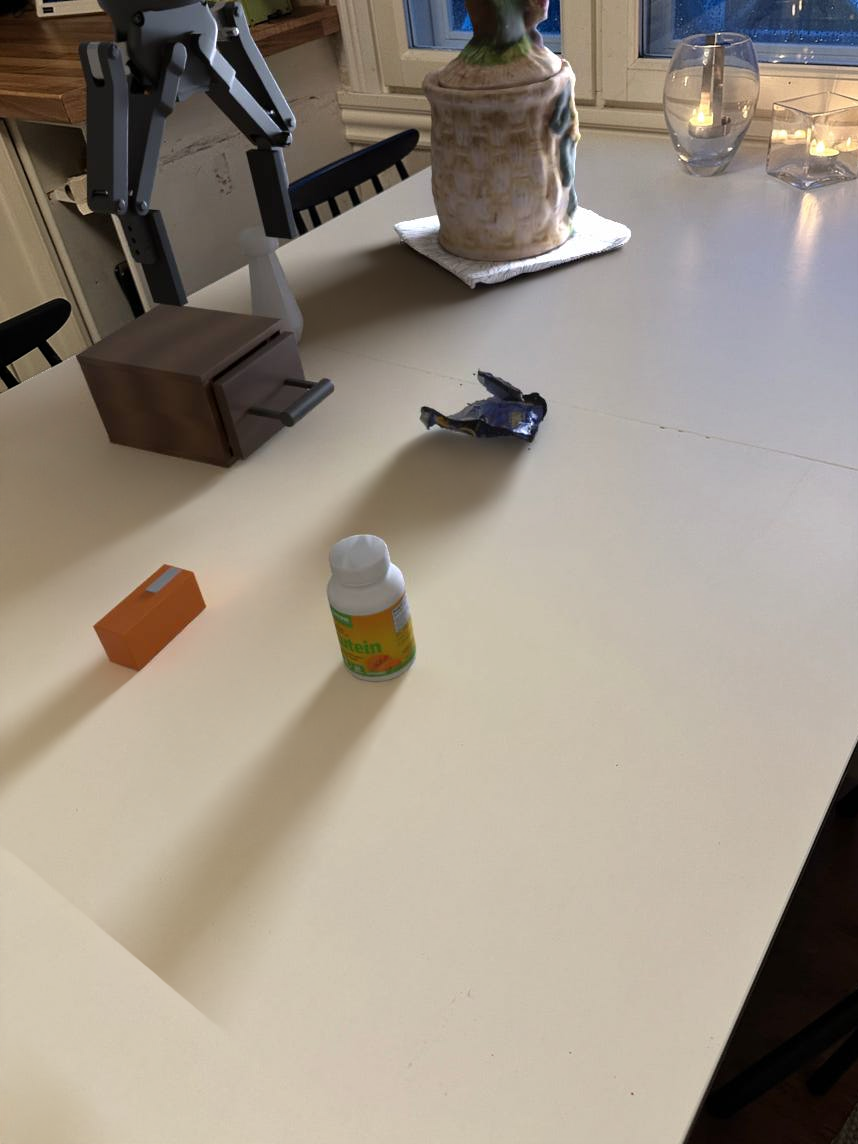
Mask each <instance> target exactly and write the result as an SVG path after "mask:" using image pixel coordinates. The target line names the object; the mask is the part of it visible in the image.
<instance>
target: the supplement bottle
mask: <svg viewBox="0 0 858 1144" xmlns="http://www.w3.org/2000/svg"><path fill="white" fill-rule="evenodd" d="M388 548H389V547H388V546H387V544H386V542H385V541H384V540H383V539H381V538H380V537H378V536H376V535H372V534H356V535H351V536H348V537H346V538H343V539H341V540H339V541H337V542H336V543H335V544H334V545H333V546H332V547H331V549H330V550H329V552H328V562H329V568H330V572H331V574H332V575H331V576H330V577H329V579H328V582H327V585H326V597H327V601H328V605H329V608H330V612H331V615H332V621H333V624H334V628H335V631H336V636H337V639H338V644H339V647H340V651H341V656H342V659H343V663H344V665H345V668H346V670H347V671H348V672H349V673H350V674H351V675H352V676H354V677H356V678H358V679H359V680H361V681H366V682H383V681H387V680H391V679H395V678H397V677H399V676H401V675H403V674H404V673H405V672H406V671H408V669H410V667H411V666H412V665H413V664H414V662H415V660H416V657H417V651H418V650H417V642H416V637H415V636H416V635H415V631H414V625H413V619H412V615H411V610H410V604H409V599H408V593H407V588H406V581H405V579H404V578H405V577H404V575H403V573H402V572H401V570H400V568H398V566H397V565H395V564H394V563H392V562H391V556H390V553H389V549H388Z"/></svg>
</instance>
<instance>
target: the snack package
mask: <svg viewBox="0 0 858 1144" xmlns="http://www.w3.org/2000/svg"><path fill="white" fill-rule="evenodd" d="M472 375H473V376H476V380H478V382H479V384H480V385H482V386H483V388H485V390H486V392H488V393H489V394H491V395H493V396H489V397H487V398H485V399H480V400H475V401H473V402H472V403H470V402H466V406H464V407H463V408H462V409H461V410H460V411H458V412H456V413H453V414H449V415H444V414H443V413H441V412H440V411H437V410H436V409H435V408H432V407H429V406H425V405H423V406H420V409H419V410H420V412H419V413H420V416H419V421H420V422H421V423H422V424H423V426H424V427H425V428H426V430H427V431H429V430H431V427H434V425H437V426H438V427H440V429H446V430H449V431H450V432H453V431H454V432H457V433H461V434H464V435H468V436H471V437H473V438H476V439H477V438H478V439H491V438H492V439H494V438H495V439H496V438H501V437H502V438H504V437H510V436H511V437H514V438H517V439H519V440H523V441H526V442H527V443H531V444H532V442H533V441H534V439H535V437H536V435H537V432H538V431H539V427H540V424H541V422H544V419H545V417H546V415H547V412H548V403H547V401H546V399H545V398H544V397H542V396H541V395H540V393H539V392H537V391H535V392H531V393H529V394H527V393H526V394H524V392H523V391H522V390H521V389H520V388H519V387H516V386H514V385H512V384H511V383H510V382H509V381H506V380H504V379H503V378H501V377H500V376H499V377H498V376H495V375H493V373H491V372H489V371H483V370H480V369H478V370H477V373H474V372H473V373H472ZM462 385H463V384H462V383H460V384H459V386H462ZM529 450H531V447H528V451H529Z"/></svg>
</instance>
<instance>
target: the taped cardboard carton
mask: <svg viewBox="0 0 858 1144" xmlns="http://www.w3.org/2000/svg"><path fill="white" fill-rule="evenodd" d="M206 608H207V605H206V602H205V599H204V597H203V594H202V592H201V589H200V585H199V583H198V581H197V578H196V575H195V572H194V571H192V570H188V569H185V568H181V567H177V566H174V565H171V564H167V563H163V564H162V565H161V566H160V567H159V568H158V569H157V570H155V571H154V572H153V573H152V574H151V575H150V576H149V577H147V578H146V579H145V580H144V581H143V582H142V583H141V584H140V585H138V586H137V587H136V588H135V589H134V590H133V591H132V592H131V593H129V594H128V595H126V596H125V597H124V599H122V600H121V601H120V602H119V603H118V604H116V606H114V607H113V608H112V609H111V610H110V611H109V612H107V613H106V614H105V615H104V616H103V617H102V618H101V619H99V620H98V621H96V622H95V624H93V626H92V627H93V629H94V631H95V634H96V636H97V637H98V639H99V642H100V643H101V646H102V648H103V651H104V653H105V654H106V656H107V659H108V660H109V662H111V663H114V664H118V665H120V666H123V667H126V668H128V669H132V670H135V671H138V672H140V671H141V670H142V669H144V667H145V666H146V665H147V664H148V663H149V662H151V660H152V659H153V658H154V657H156V656H157V654H159V653H160V652H161V651H162V650H163V649H164V648H165V647H166V646H167V645H168V644H169V643H170V642H171V641H172V640H173V639H174V638H175V637H176V636H177V635H179V633H180V632H181V631H183V630H184V629H185V628H186V627H187V626H188V625H189V624H190V623H191V622H192V621H194V619H195V618H197V616H199V615H200V614H201V612H203V611H204V610H205V609H206Z"/></svg>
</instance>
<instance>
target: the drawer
mask: <svg viewBox="0 0 858 1144" xmlns="http://www.w3.org/2000/svg"><path fill="white" fill-rule="evenodd" d="M301 359H302V358H301V355H300V351H299V347H298V342H296V338H295V333H294V332H288V331H284V332H283V333H281V334H280V335H278V336H277V337H276V338H274V339H273V340H272V341H271V337H268V338H267V339H265V340H264V341H263V342H261V343H260V344H259V345H257V346H256V347H254V348H253V349H252V350H250V351H249V352H247V353H246V354H245V355H243V356H242V357H240V358H239V359H238V360H236V361H235V362H234V363H232V364H231V365H229V366H228V367H227V368H225V369H224V370H222V371H221V372H220V373H218V374H217V375H215V376H214V377H213V378H211V379H210V380H209V381H208V383H209V386H210V389H211V393H212V396H213V399H214V402H215V406H216V409H217V412H218V415H219V419H220V422H221V425H222V428H223V432H224V435H225V438H226V442H227V445H228V448H229V447H231V448H232V451H233V455H234V458H237V459H239V460H243V461H245V460H246V459H247V458H249V457H250V456H251V455H253V453H255V452H256V451H257V450H258V449H259V448H260V447H262V446H263V445H264V444H265V443H266V442H267V441H269V440H271V438H272V437H274V436H275V435H276V434H277V433H278V432H280V431H281V430H282V429H283V428H285V427H286V428H292V427H294V426H295V425H296V424H297V423H299V422H300V421H301V420H302V419H303V418H304V417H305V416H307V415H308V414H309V413H311V412H312V411H313V410H314V409H315V408H316V407H317V406H319V405H320V404H321V403H322V402H324V401H325V400H326V399H327V398H328V397H329V396H331V395H332V394H333V393H334V392H335V384H334V382H333V381H332V380H331V379H329V378H328V377H323V378H321V379H320V380H319V381H313V380H306V377H305V373H304V368H303V364H302V360H301Z"/></svg>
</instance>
